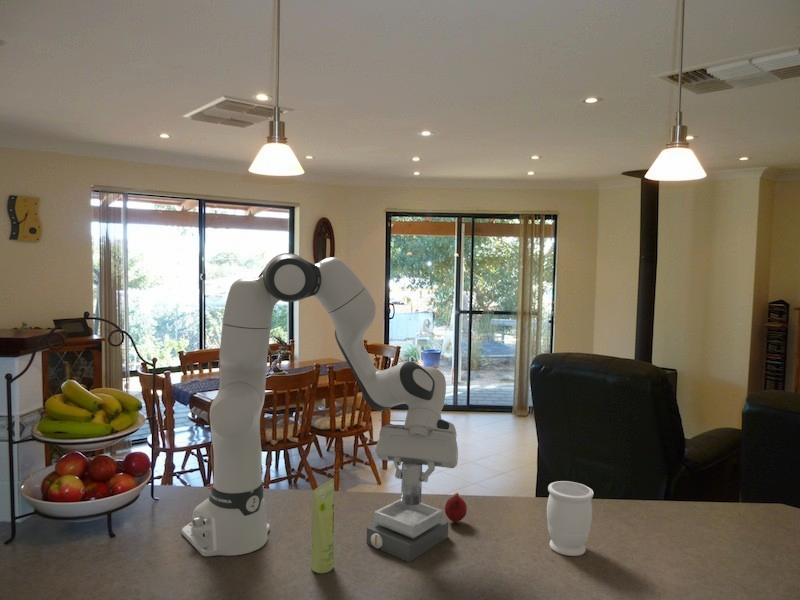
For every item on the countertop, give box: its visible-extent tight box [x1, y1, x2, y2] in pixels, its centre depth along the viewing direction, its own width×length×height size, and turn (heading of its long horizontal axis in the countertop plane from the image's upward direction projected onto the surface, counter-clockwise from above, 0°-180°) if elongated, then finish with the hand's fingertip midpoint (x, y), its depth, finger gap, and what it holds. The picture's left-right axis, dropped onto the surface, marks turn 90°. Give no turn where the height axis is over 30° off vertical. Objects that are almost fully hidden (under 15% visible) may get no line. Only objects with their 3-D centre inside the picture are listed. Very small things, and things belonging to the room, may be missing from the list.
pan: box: [373, 498, 444, 539], centre depth 144 cm, size 12×12×3 cm
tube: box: [310, 478, 335, 574], centre depth 129 cm, size 6×5×20 cm
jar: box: [546, 480, 594, 557], centre depth 142 cm, size 11×10×15 cm
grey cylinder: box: [400, 461, 423, 505], centre depth 139 cm, size 5×5×9 cm
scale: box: [366, 519, 449, 563], centre depth 144 cm, size 13×17×4 cm
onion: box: [444, 492, 468, 524], centre depth 154 cm, size 6×6×8 cm
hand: (411, 479), depth 138 cm, fingers closed on grey cylinder, 5 cm apart
